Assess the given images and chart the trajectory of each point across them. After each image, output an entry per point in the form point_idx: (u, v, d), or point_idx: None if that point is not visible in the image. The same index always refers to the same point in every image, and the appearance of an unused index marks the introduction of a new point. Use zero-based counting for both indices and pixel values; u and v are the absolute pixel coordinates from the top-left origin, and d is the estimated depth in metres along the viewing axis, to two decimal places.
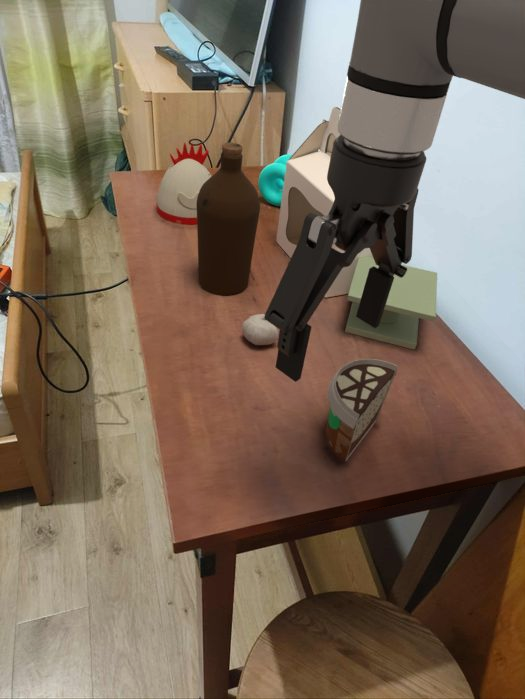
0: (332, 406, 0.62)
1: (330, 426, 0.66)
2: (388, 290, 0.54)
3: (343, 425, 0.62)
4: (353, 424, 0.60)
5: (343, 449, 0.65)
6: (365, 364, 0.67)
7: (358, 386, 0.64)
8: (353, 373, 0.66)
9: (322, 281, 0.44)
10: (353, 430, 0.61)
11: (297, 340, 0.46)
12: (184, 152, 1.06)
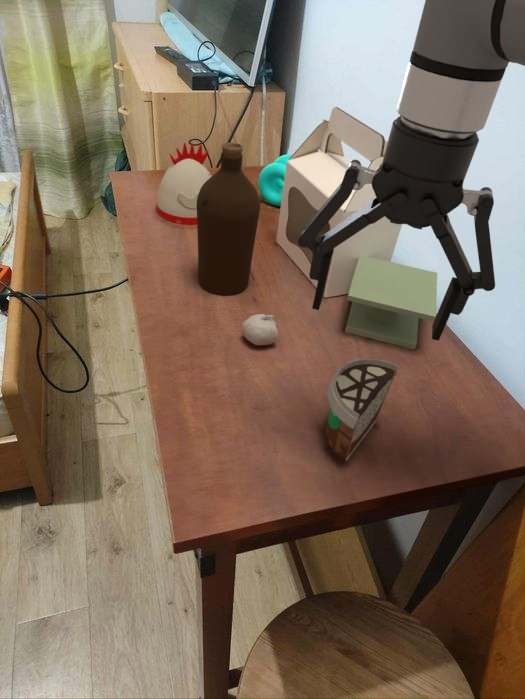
0: (332, 406, 0.62)
1: (330, 426, 0.66)
2: (450, 303, 0.53)
3: (343, 425, 0.62)
4: (353, 424, 0.60)
5: (343, 449, 0.65)
6: (365, 364, 0.67)
7: (358, 386, 0.64)
8: (353, 373, 0.66)
9: (347, 224, 0.51)
10: (353, 430, 0.61)
11: (319, 268, 0.55)
12: (184, 152, 1.06)
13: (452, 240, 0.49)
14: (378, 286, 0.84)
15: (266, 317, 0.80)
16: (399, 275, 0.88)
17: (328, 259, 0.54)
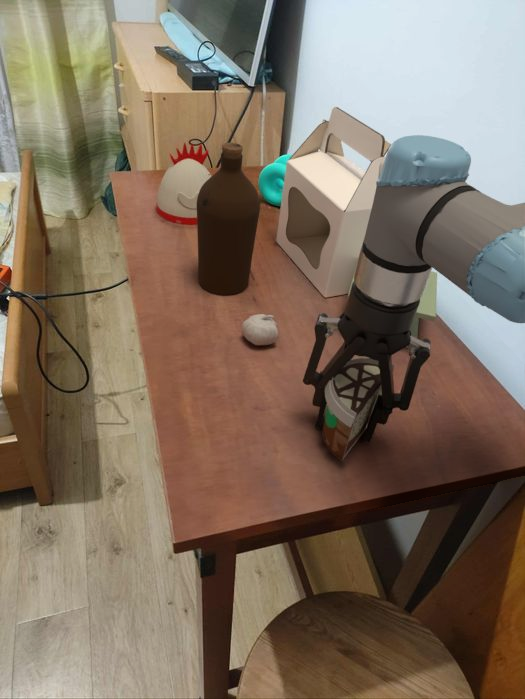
0: (329, 405, 0.62)
1: (327, 425, 0.66)
2: (375, 417, 0.65)
3: (341, 424, 0.62)
4: (350, 423, 0.60)
5: (340, 447, 0.65)
6: (361, 363, 0.67)
7: (355, 385, 0.64)
8: (350, 371, 0.66)
9: (332, 364, 0.63)
10: (350, 429, 0.61)
11: (321, 399, 0.67)
12: (184, 152, 1.06)
13: (389, 373, 0.61)
14: None
15: (266, 317, 0.80)
16: None
17: None
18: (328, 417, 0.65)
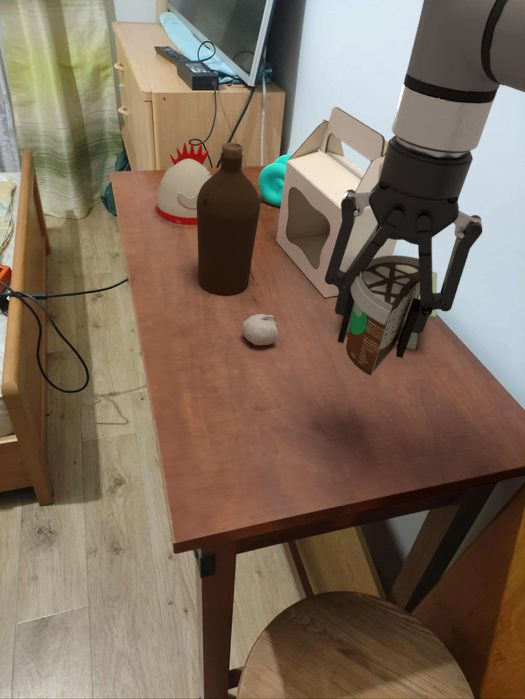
0: (358, 302, 0.52)
1: (353, 333, 0.56)
2: (411, 322, 0.55)
3: (371, 325, 0.52)
4: (384, 318, 0.50)
5: (369, 358, 0.55)
6: (393, 262, 0.57)
7: (387, 282, 0.54)
8: (380, 270, 0.56)
9: (360, 255, 0.53)
10: (383, 329, 0.51)
11: (345, 304, 0.57)
12: (184, 152, 1.06)
13: (430, 261, 0.51)
14: None
15: (266, 317, 0.80)
16: None
17: None
18: (355, 322, 0.55)
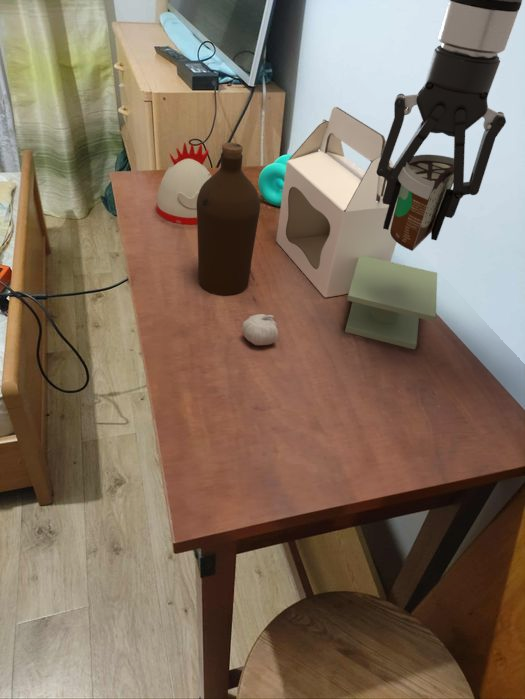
0: (405, 185, 0.66)
1: (398, 216, 0.70)
2: (445, 207, 0.69)
3: (415, 204, 0.66)
4: (428, 194, 0.63)
5: (412, 234, 0.68)
6: (430, 161, 0.71)
7: (428, 172, 0.68)
8: (421, 165, 0.69)
9: (407, 148, 0.66)
10: (426, 205, 0.65)
11: (391, 194, 0.71)
12: (184, 152, 1.06)
13: (463, 150, 0.64)
14: (378, 286, 0.84)
15: (266, 317, 0.80)
16: (399, 275, 0.88)
17: (399, 185, 0.69)
18: (400, 206, 0.69)
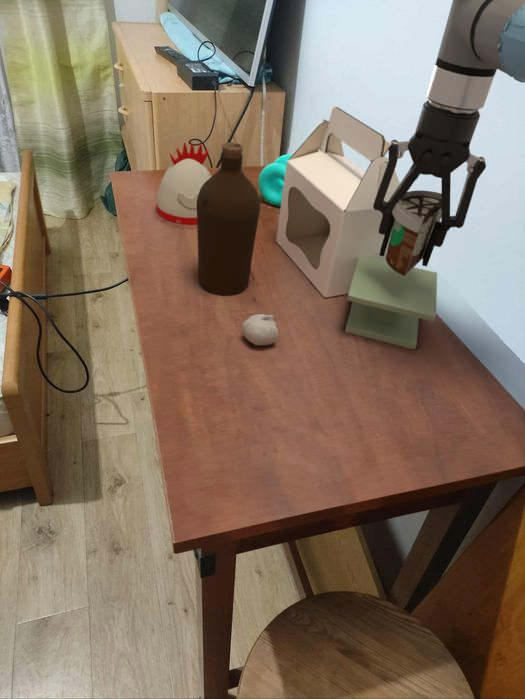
0: (398, 219, 0.74)
1: (393, 245, 0.78)
2: (434, 237, 0.78)
3: (407, 236, 0.75)
4: (418, 228, 0.72)
5: (405, 261, 0.77)
6: (421, 196, 0.80)
7: (418, 207, 0.76)
8: (412, 200, 0.78)
9: (400, 187, 0.75)
10: (416, 237, 0.74)
11: (386, 225, 0.79)
12: (184, 152, 1.06)
13: (449, 190, 0.73)
14: (378, 286, 0.84)
15: (266, 317, 0.80)
16: (399, 275, 0.88)
17: (393, 218, 0.78)
18: (394, 236, 0.77)
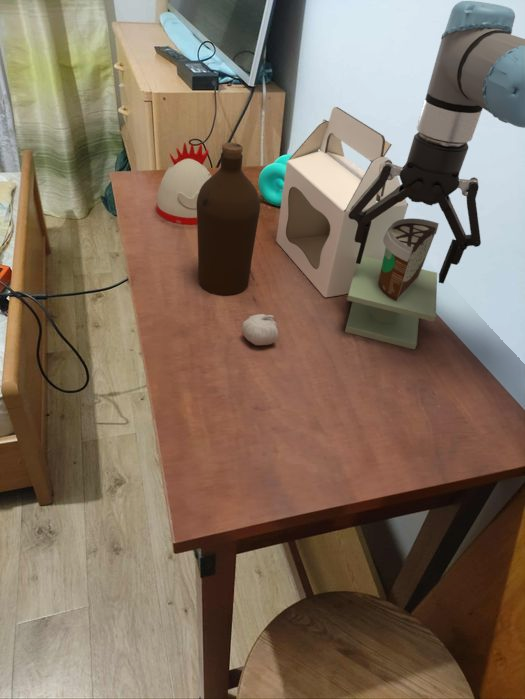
0: (389, 248, 0.78)
1: (384, 271, 0.81)
2: (451, 255, 0.79)
3: (398, 264, 0.78)
4: (407, 257, 0.75)
5: (396, 288, 0.80)
6: (411, 223, 0.83)
7: (408, 235, 0.79)
8: (403, 228, 0.81)
9: (382, 203, 0.77)
10: (406, 265, 0.77)
11: (362, 234, 0.81)
12: (184, 152, 1.06)
13: (452, 212, 0.75)
14: (378, 286, 0.84)
15: (266, 317, 0.80)
16: None
17: (368, 227, 0.80)
18: (386, 264, 0.81)
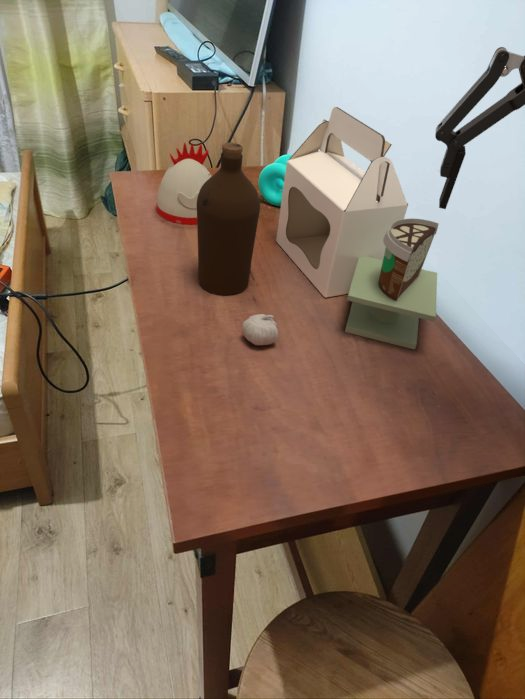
0: (389, 248, 0.78)
1: (384, 271, 0.81)
2: None
3: (398, 264, 0.78)
4: (407, 257, 0.75)
5: (396, 288, 0.80)
6: (411, 223, 0.83)
7: (408, 235, 0.79)
8: (403, 228, 0.81)
9: (488, 113, 0.53)
10: (406, 265, 0.77)
11: (452, 164, 0.57)
12: (184, 152, 1.06)
13: None
14: (378, 286, 0.84)
15: (266, 317, 0.80)
16: None
17: (464, 152, 0.56)
18: (386, 264, 0.81)
